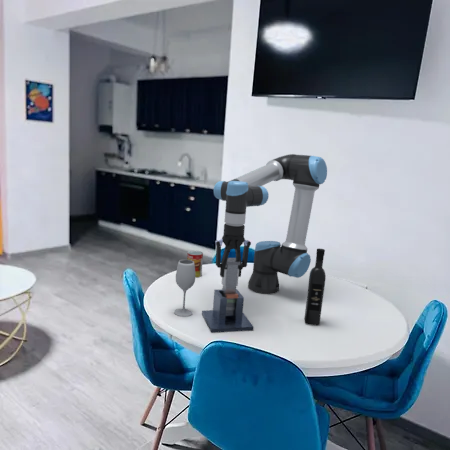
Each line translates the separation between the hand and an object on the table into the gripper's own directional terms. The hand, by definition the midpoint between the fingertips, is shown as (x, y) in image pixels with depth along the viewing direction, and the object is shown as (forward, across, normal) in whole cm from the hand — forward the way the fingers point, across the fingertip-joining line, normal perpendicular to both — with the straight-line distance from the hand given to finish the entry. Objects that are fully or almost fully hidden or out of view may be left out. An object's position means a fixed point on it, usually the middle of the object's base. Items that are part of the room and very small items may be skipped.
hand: (229, 284), depth 151 cm
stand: (+15, 0, 0) cm, 15 cm away
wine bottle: (+15, -34, +4) cm, 38 cm away
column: (+11, 0, 0) cm, 11 cm away
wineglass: (+15, +15, -10) cm, 24 cm away
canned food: (+15, +2, -55) cm, 57 cm away
